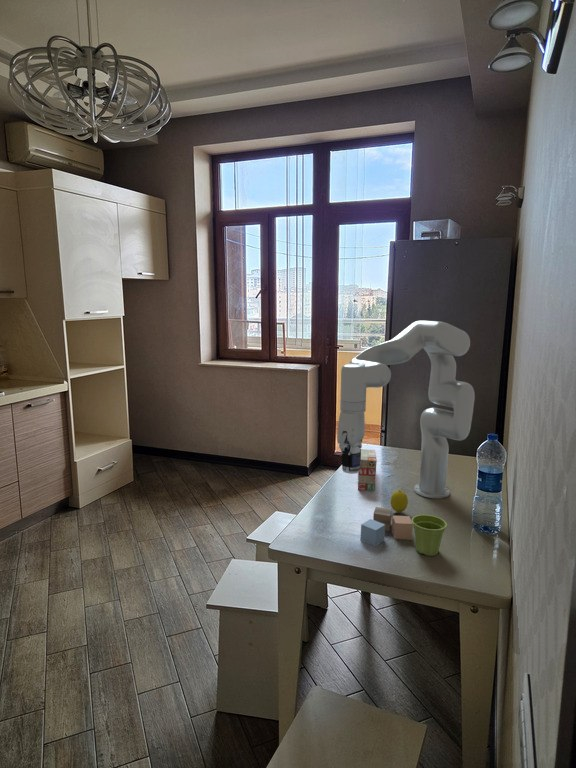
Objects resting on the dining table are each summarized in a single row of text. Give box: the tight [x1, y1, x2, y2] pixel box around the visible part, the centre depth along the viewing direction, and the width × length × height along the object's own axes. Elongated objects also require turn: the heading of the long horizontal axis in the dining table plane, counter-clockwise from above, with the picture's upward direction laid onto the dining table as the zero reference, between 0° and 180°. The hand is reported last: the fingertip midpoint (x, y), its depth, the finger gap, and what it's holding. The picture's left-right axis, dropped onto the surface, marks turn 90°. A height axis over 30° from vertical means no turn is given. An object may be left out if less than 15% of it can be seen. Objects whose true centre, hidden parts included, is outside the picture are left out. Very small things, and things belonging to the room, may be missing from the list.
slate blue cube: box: [360, 518, 386, 547], centre depth 138 cm, size 5×5×5 cm
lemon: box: [390, 489, 409, 514], centre depth 156 cm, size 6×6×8 cm
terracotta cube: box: [391, 515, 414, 540], centre depth 141 cm, size 5×5×5 cm
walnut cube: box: [372, 506, 393, 532], centre depth 147 cm, size 5×5×5 cm
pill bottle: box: [341, 442, 360, 475], centre depth 143 cm, size 5×5×10 cm
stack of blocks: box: [357, 448, 378, 492], centre depth 184 cm, size 21×6×12 cm, turn 172°
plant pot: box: [411, 514, 448, 557], centre depth 132 cm, size 9×9×9 cm
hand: (351, 462), depth 144 cm, fingers closed on pill bottle, 5 cm apart
